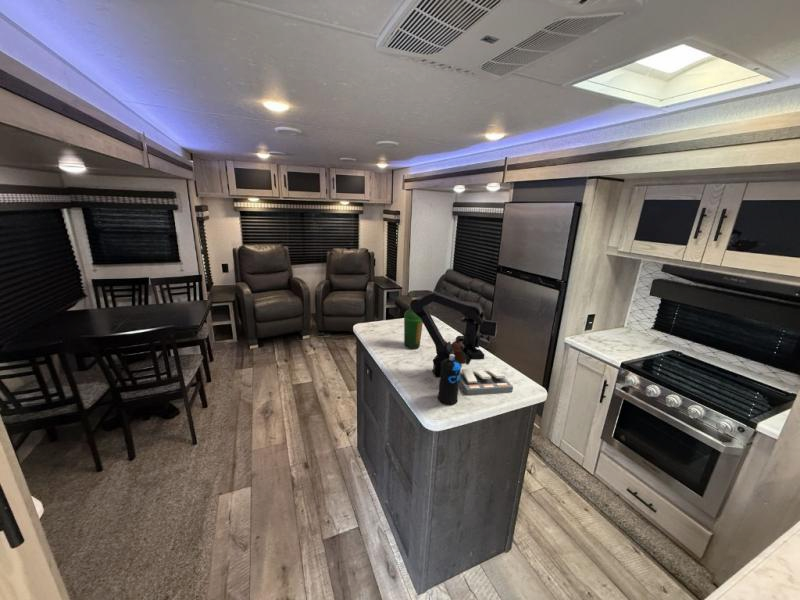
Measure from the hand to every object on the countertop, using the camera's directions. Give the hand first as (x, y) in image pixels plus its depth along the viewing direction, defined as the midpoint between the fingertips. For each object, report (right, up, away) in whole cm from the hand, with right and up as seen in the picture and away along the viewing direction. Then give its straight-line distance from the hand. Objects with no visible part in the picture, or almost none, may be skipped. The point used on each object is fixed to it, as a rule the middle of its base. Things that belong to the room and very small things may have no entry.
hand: (467, 364), depth 139 cm
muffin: (+1, -2, +22) cm, 22 cm away
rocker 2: (+7, -5, -1) cm, 8 cm away
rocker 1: (+1, -5, -2) cm, 5 cm away
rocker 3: (+13, -5, +1) cm, 14 cm away
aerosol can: (-11, -12, -12) cm, 20 cm away
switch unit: (+7, -9, 0) cm, 11 cm away
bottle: (-23, +3, +34) cm, 41 cm away
